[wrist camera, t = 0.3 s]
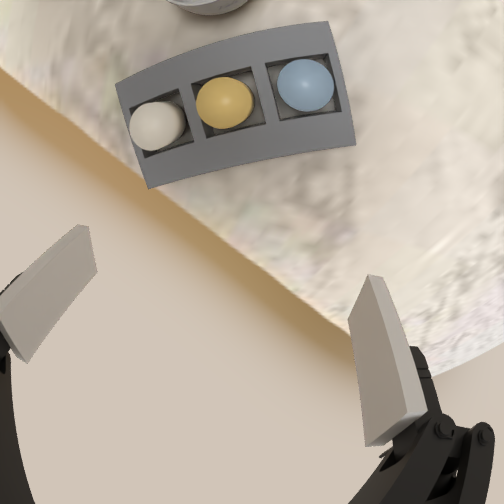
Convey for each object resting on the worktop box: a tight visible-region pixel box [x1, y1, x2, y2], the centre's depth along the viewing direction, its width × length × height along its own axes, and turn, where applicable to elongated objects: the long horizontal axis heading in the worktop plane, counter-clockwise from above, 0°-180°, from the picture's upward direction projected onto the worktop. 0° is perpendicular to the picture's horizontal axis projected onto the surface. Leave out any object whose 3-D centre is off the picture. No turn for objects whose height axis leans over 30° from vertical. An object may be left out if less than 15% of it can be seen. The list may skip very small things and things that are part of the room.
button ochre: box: [196, 77, 255, 129], centre depth 27 cm, size 6×6×4 cm
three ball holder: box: [115, 21, 356, 189], centre depth 29 cm, size 15×26×4 cm, turn 104°
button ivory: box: [129, 101, 186, 151], centre depth 29 cm, size 6×6×4 cm
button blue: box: [277, 59, 334, 111], centre depth 25 cm, size 6×6×4 cm
